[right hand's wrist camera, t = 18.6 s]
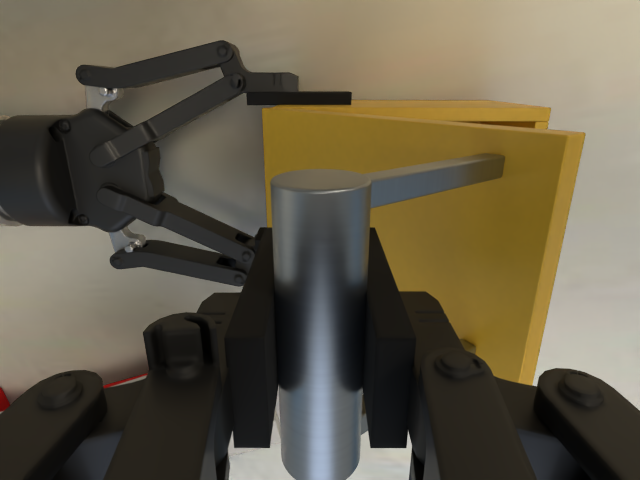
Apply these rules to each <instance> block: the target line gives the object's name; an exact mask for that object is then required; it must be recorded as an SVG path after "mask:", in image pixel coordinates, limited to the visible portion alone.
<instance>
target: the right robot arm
mask: <svg viewBox="0 0 640 480" xmlns="http://www.w3.org/2000/svg"><path fill="white" fill-rule="evenodd" d="M143 336H144V342H145V348H146V354H147V360H148V366H149V371H148V374H147V376H146V378H145V379H142V380H139V381H135V382H132V383H127V384H123V385H118V386H113V387H108V388H104V387H103V382H102V379H101V378H100V377H99V376H98V375H97V374H96V373H94V372H90V371H86V370H77V371H68V372H64V373H59V374H56V375H53V376H51V377H49V378H47V379H45V380H42V381H40V382H39V383H37V384H36V385H34V386H33V387H31V388H30V389H29V390H27V391H26V392H25V393H24V394H23V395H21V396H20V397H19V398H18V399H17V400H16V401H15V402H13V403H12V404H11V405H10V406H9V407H8V408H7V409H5V410H4V411H3V412H2V413H1V414H0V480H229V470H230V465H229V454H228V447H229V443H230V439H231V435H232V431H233V441H234V448H270V443H271V435H272V428H273V421H274V413H275V406H276V399H277V391H278V384H279V381H278V357H277V332H276V308H275V284H274V260H273V235H272V227H265V230H264V233H263V235H262V238H261V241H260V243H259V246H258V249H257V251H256V254H255V257H254V259H253V262H252V265H251V267H250V270H249V273H248V275H247V278H246V281H245V283H244V286H243V289H242V291H241V293H214V294H212V295H211V296H210V297H208V298H207V299H206V300H204V301H203V302H202V303H201V305H200V307H199V309H198V311H197V313H189V312H186V313H179V314H172V315H169V316H166V317H164V318H161V319H159V320H157V321H155V322H154V323H152V324H150V325H149V326H148V327H147V328H146V330H145V331H144V332H143ZM362 389H363V396H364V403H365V411H366V418H367V425H368V432H369V440H370V447H371V448H406V446H407V435H408V431H409V435H410V439H411V443H412V454H411V464H410V475H409V480H640V411H639V410H638V409H637V408H636V407H635V406H634V405H632V404H631V403H630V402H629V401H628V400H627V399H625V398H624V397H623V396H622V395H621V394H620V393H619V392H617V391H616V390H615V389H614V388H612V387H611V386H610V385H608V384H607V383H605V382H604V381H602V380H601V379H599V378H596V377H594V376H592V375H589V374H587V373H585V372H582V371H577V370H572V369H561V368H555V369H551V370H547V371H545V372H544V373H543V374H542V375H541V376H540V377H539V380H538V384H537V387H536V386H531V385H527V384H522V383H517V382H512V381H508V380H505V379H501V378H498V377H496V376H493V373H492V371H491V369H490V367H489V366H488V365H487V363H486V362H485V361H484V360H483V359H481V358H480V357H478V356H477V355H475V354H473V353H471V352H468V351H466V350H465V349H464V347H463V345H462V343H461V342H460V340H459V338H458V336H457V334H456V332H455V330H454V329H453V327H452V325H451V323H450V322H449V319H448V317H447V316H446V314H445V313H444V310H443V308H442V306H441V304H440V303H439V301H438V300H437V299H436V298H434V297H433V296H431V295H430V294H429V293H427V292H426V291H399V290H398V288H397V285H396V282H395V280H394V277H393V274H392V272H391V269H390V266H389V264H388V261H387V258H386V256H385V253H384V250H383V248H382V245H381V242H380V240H379V237H378V234H377V232H376V229H375V227H370V233H369V257H368V280H367V291H366V312H365V335H364V359H363V382H362Z"/></svg>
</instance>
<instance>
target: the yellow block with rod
mask: <svg viewBox="0 0 640 480" xmlns="http://www.w3.org/2000/svg"><path fill="white" fill-rule="evenodd" d="M262 122H263V144H264V166H265V188H266V210H267V227H272V235H273V260H274V284H275V308H276V332H277V357H278V381H279V406H280V431H281V455H282V461H283V464H284V466H285V468H286V470H287V471H288V473H289V474H290V475H291V476H292V477H293V478H295V479H296V480H346V479H347V478H348V477H349V476H350V475H351V474H352V473H353V472H354V470H355V469H356V467H357V465H358V463H359V459H360V442H361V435H362V434H363V433H365V432H366V431H368V425H367V418H366V411H365V403H364V396H363V389H362V382H363V359H364V335H365V312H366V291H367V280H368V257H369V233H370V227H375V229H376V232H377V234H378V237H379V240H380V242H381V245H382V248H383V250H384V253H385V256H386V258H387V261H388V264H389V266H390V269H391V272H392V274H393V277H394V280H395V282H396V285H397V288H398V290H399V291H426V292H427V293H429V294H430V295H431V296H433V297H434V298H436V299H437V300H438V301H439V303H440V304H441V306H442V308H443V310H444V313H445V314H446V316H447V317H448V319H449V322H450V323H451V325H452V327H453V329H454V330H455V332H456V334H457V336H458V338H459V340H460V342H461V343H462V345H463V347H464V349H465V350H466V351H468V352H471V353H473V354H475V355H477V356H478V357H480V358H481V359H483V360H484V361H485V362H486V363H487V365H488V366H489V367H490V369H491V371H492V373H493V376H496V377H498V378H501V379H505V380H508V381H512V382H517V383H522V384H527V385H531V386H532V384H533V379H534V375H535V370H536V365H537V360H538V356H539V351H540V346H541V342H542V337H543V332H544V327H545V323H546V318H547V313H548V309H549V304H550V299H551V294H552V290H553V285H554V280H555V276H556V271H557V266H558V261H559V257H560V252H561V247H562V243H563V238H564V233H565V229H566V224H567V219H568V214H569V210H570V205H571V200H572V196H573V191H574V186H575V181H576V177H577V172H578V167H579V163H580V158H581V153H582V148H583V144H584V139H585V133H584V132H573V131H560V130H548V129H536V128H524V127H512V126H499V125H487V124H475V123H463V122H450V121H438V120H426V119H414V118H401V117H389V116H377V115H365V114H352V113H340V112H328V111H316V110H304V109H291V108H279V107H277V108H262Z"/></svg>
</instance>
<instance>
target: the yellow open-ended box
mask: <svg viewBox="0 0 640 480" xmlns="http://www.w3.org/2000/svg"><path fill="white" fill-rule="evenodd" d="M277 107H279V108H291V109H304V110H316V111H328V112H340V113H352V114H365V115H377V116H389V117H401V118H414V119H426V120H438V121H450V122H463V123H475V124H487V125H499V126H512V127H524V128H536V129H547V128H548V122H547V121H549V117H550V111H551V108H548V107H540V106H532V105H523V104H515V103H507V102H498V101H490V100H351V105H277V106H275V107H272V108H277Z"/></svg>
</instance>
